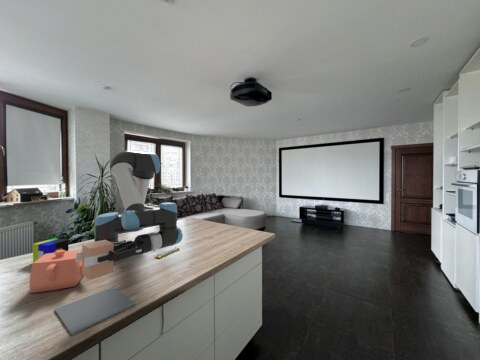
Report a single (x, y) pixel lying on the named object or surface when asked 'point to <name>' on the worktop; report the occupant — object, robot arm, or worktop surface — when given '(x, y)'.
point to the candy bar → (167, 252)
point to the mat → (92, 309)
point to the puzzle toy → (49, 247)
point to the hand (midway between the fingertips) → (80, 259)
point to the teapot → (55, 271)
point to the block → (93, 250)
